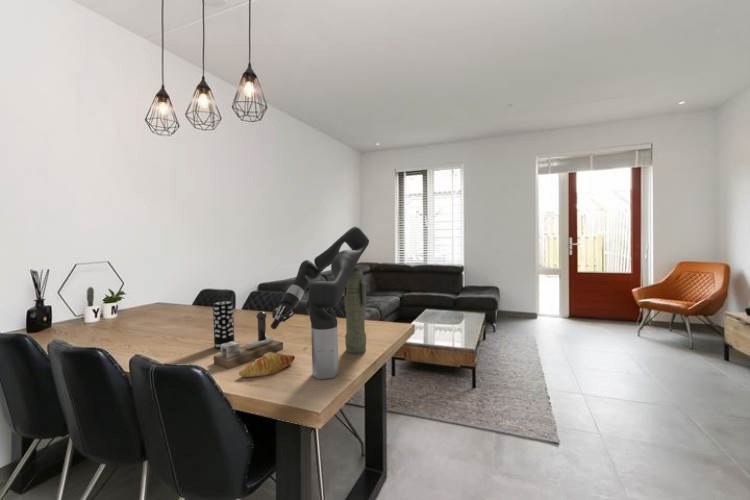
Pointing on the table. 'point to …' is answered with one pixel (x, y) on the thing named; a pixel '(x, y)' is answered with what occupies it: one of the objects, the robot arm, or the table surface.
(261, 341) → the bolt
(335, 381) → the table surface
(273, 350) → the door board
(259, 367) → the croissant
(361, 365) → the table surface
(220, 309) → the spotted tube
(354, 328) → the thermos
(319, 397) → the table surface
